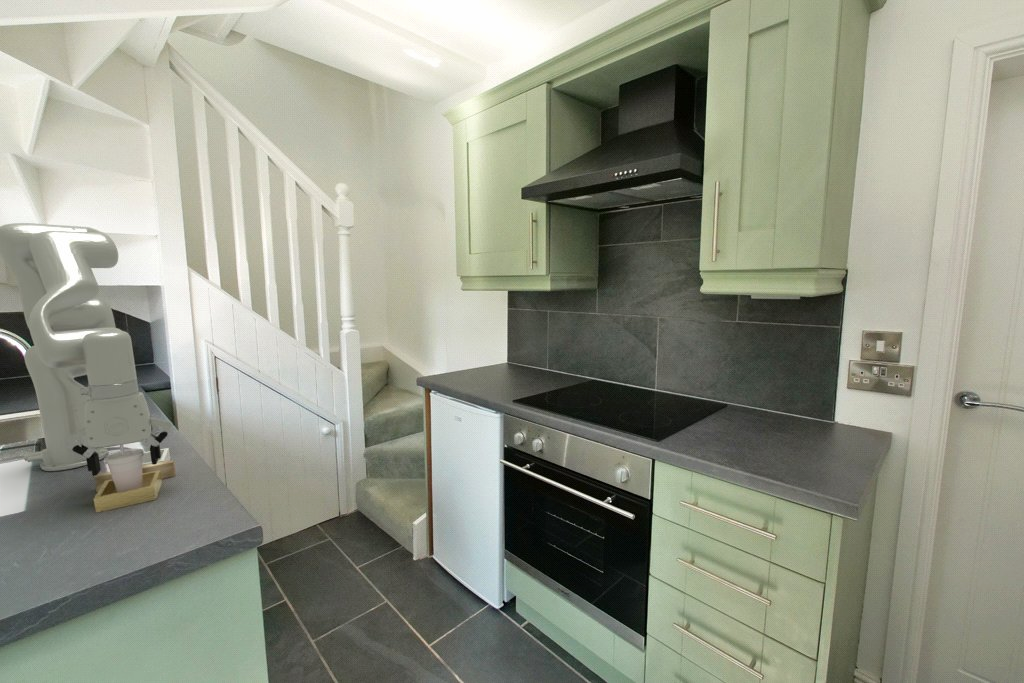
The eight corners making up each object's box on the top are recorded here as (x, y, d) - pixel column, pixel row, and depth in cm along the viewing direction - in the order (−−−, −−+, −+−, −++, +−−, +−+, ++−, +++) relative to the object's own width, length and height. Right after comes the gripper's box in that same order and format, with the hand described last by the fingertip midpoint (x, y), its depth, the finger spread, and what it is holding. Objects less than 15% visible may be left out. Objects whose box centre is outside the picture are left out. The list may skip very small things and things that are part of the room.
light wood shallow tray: (95, 512, 90) (93, 498, 89) (107, 493, 98) (105, 480, 97) (156, 499, 95) (154, 486, 94) (162, 482, 103) (160, 469, 102)
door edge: (96, 492, 98) (94, 477, 98) (98, 488, 100) (96, 473, 99) (174, 476, 106) (173, 462, 105) (175, 473, 107) (174, 459, 107)
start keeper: (113, 482, 103) (111, 470, 103) (122, 467, 111) (120, 456, 111) (165, 472, 108) (163, 460, 108) (170, 458, 116) (168, 447, 116)
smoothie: (104, 505, 92) (93, 441, 90) (121, 491, 98) (112, 431, 96) (140, 501, 94) (131, 438, 92) (155, 487, 100) (147, 428, 98)
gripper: (51, 401, 85) (65, 485, 87) (164, 387, 94) (175, 464, 96) (63, 392, 91) (77, 471, 94) (168, 381, 100) (178, 452, 103)
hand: (126, 467), depth 95 cm, fingers open, 9 cm apart
